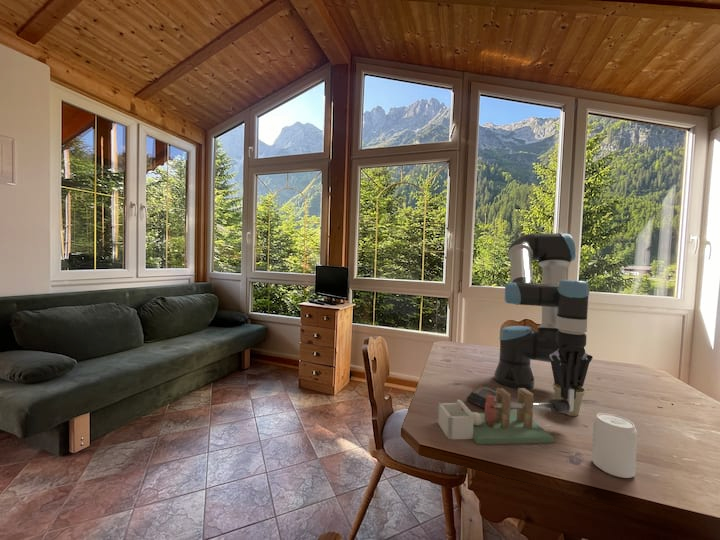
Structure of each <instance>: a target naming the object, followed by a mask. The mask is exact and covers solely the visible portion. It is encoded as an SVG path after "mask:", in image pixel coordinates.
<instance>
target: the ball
mask: <svg viewBox="0 0 720 540" xmlns="http://www.w3.org/2000/svg"><path fill="white" fill-rule="evenodd" d="M472 413H473V414H474V417H473V418H474V422H473V425H476V426H479V425H481V424H482V422H483V418H482V416H481V415H480V414H479V413H480V412H477V411H473V412H472Z"/></svg>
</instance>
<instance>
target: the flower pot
mask: <svg viewBox="0 0 720 540" xmlns="http://www.w3.org/2000/svg"><path fill="white" fill-rule="evenodd" d="M551 386H552V387H553V390H554V396H555V398H554V399H562V397H561V386H559V385H557V384H555V382H554V381H553V382H552V383H551ZM578 388H580V389H579V390H576V398H575V399H574V409H573V411H569V412H560V413H561V414H562V415H563V414H565V415H567V416H569V417H577V416H579V414H580V409H581V405H582V400H583V397H584V395H585V393H586V392H587V390H586V388H585V387H584V386H582V387H578Z"/></svg>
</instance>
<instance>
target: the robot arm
mask: <svg viewBox="0 0 720 540" xmlns="http://www.w3.org/2000/svg"><path fill="white" fill-rule="evenodd" d="M575 243H576V242H575V240H574V238H573V236H572V235H571V234H569V233H560V232H556V233H528V234H524V235H521V236H519V237H518V238H516V239H515V240H514V241H513V242H511V244H510V245H509V247H508V250H507V257H508V259H509V261H510V282H506V283H505V285H504V286H505V287H504V302H505V303H507V304H513V305H517V306H519V305H520V306H521V305H522V306H535V307H536V306H537V307H541V323H540V324H539V325H538V326H537V328H536V329H537V330H536V331H534V330H533V329H532V327H530V326H528V325H527V326H525V325H509V326H505V327H502V328H501V330H500V337H499V340H500V341H499V361H498V364H497V365H496V368H495V371H494V377H493V378H495V379H494V380H495V382H497V383H499V384H500V383H501V385H503V386H506V387H509V388H515V389H518V388H525V389H526V390H529V389H532V388H534V387H535V377H534V374H533V371H532V368H531V360H532V361H538V362H546V363H550V364H551V365H550V366H551V370H552V375H553V382H555V384H557V385H559V386H561V397H562V399H566V400H567V401H568V403H569V405H570V410H569V411H573V409H574V399H575V398H576V390H579V389H580V388H578V387H584V385H585V380H586V376H587V374H588V373H587V372H588V370H589V365H590V363H591V362H592V360H593V356H592V355H591V354H588V353H587V352H586V349H585V347H587V334H586V333H587V332H588V331H587V330H588V308H589V295H590V290H589V282H587V281H586V280H574V279H567V268H568V267H570V265H571V263H572V262H574V261H575V259H576V244H575ZM532 261H537V262H538V263H537V264H538V266H540V268H542V269H541V270H542V274H541V275H542V276H541V283H535V280H534V273H533V265H532Z"/></svg>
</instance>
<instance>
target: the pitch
mask: <svg viewBox="0 0 720 540" xmlns="http://www.w3.org/2000/svg"><path fill="white" fill-rule="evenodd" d="M478 413H479V414H480V415H481V416H482V418H483V422H482V424H481V425H479V426H476V425H473V439H472V440H473V441H474V442H475V444H476V445H496V444H497V445H499V444H501V445H503V444H506V445H507V444H511V445H512V444H542V443H543V444H546V443H548V444H550V443H554V436H552V434H551V433H549V432H548V431H547V430H545V429H544V428H543V427H541V426H540V425H539V424H538V423H537V422H535V421H534V420H533V419H532V428H525V427H524V422H518V421H517V411H516V412H510V423H509V428H505V429H503V428H502V427H501V422H496V421H495V424H494V426H490V425H489V424H488V423H487V422H486V421H485V420H484V417H485V412H478ZM461 416H469V415H468V414H467V413H466V412H461Z"/></svg>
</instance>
